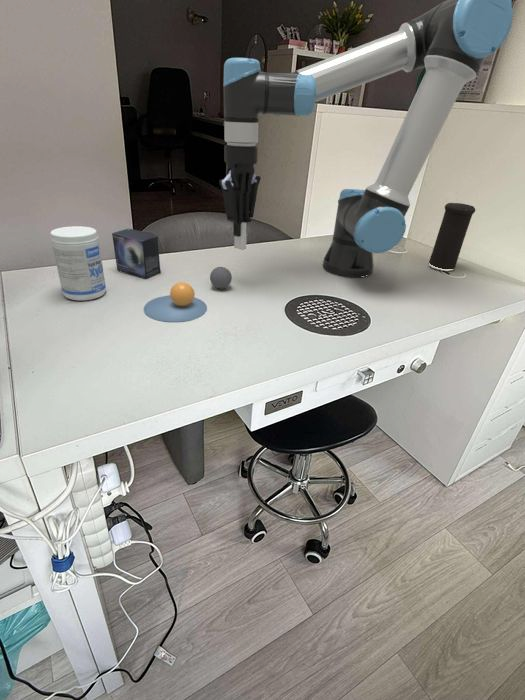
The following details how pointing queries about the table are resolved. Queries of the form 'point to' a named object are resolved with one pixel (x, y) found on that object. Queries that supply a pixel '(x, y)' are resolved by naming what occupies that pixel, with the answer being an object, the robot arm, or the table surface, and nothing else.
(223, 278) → the charcoal ball
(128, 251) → the small box
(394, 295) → the table surface
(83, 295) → the supplement tub
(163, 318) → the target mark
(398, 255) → the table surface
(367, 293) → the table surface
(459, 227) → the container
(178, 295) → the orange ball
